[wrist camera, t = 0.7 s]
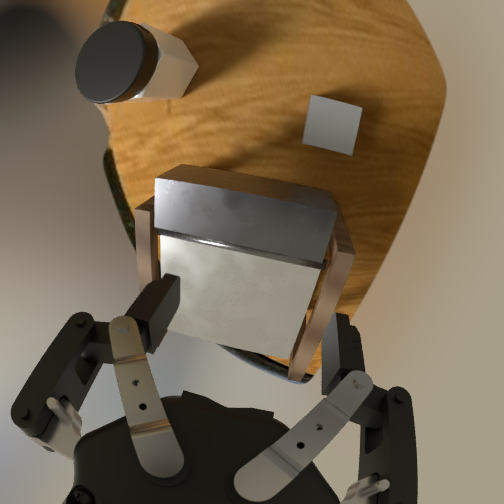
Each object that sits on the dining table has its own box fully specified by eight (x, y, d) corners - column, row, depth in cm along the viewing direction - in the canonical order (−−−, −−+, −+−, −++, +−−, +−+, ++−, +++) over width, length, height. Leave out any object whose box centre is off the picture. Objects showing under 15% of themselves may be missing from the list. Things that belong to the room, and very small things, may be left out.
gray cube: (309, 97, 27) (311, 94, 23) (353, 108, 27) (362, 107, 22) (301, 138, 29) (302, 143, 25) (344, 149, 29) (351, 155, 25)
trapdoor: (173, 163, 23) (145, 176, 19) (339, 194, 22) (348, 215, 18) (171, 311, 32) (154, 340, 28) (292, 340, 31) (289, 374, 27)
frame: (189, 173, 33) (134, 208, 22) (337, 202, 32) (355, 255, 21) (183, 283, 42) (147, 343, 31) (303, 310, 41) (300, 381, 29)
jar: (200, 36, 25) (152, 7, 14) (199, 97, 29) (148, 94, 18) (135, 48, 26) (73, 36, 16) (135, 105, 30) (71, 111, 19)
